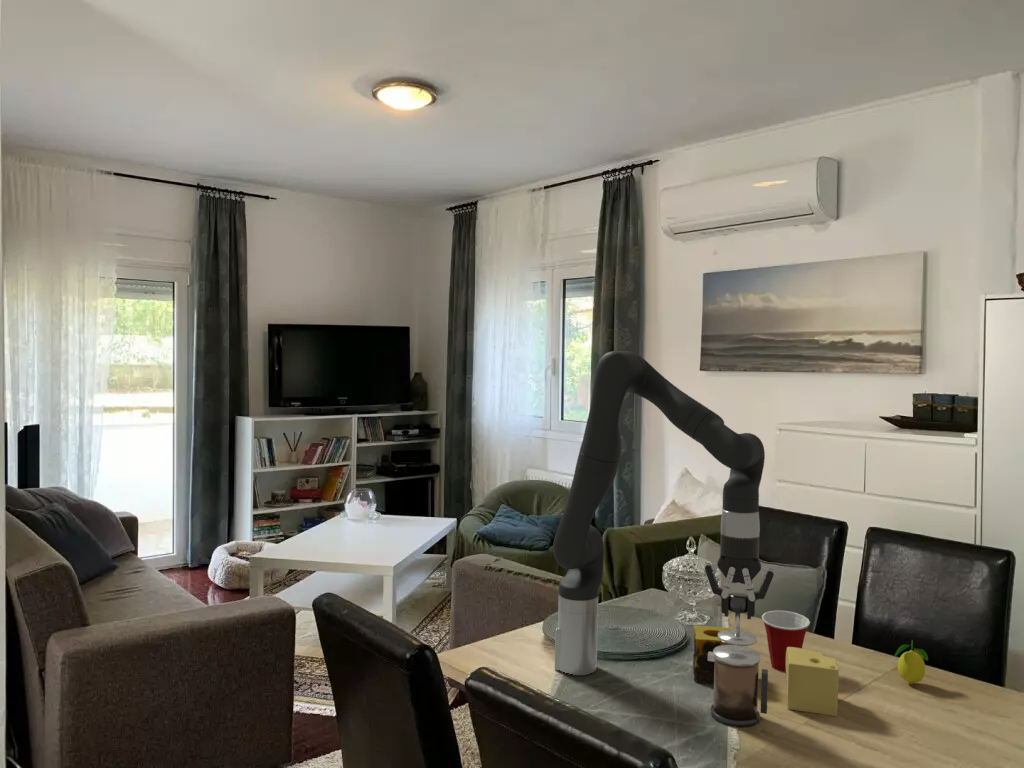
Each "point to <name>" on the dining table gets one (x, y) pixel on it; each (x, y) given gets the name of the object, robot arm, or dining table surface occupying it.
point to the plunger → (737, 622)
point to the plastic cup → (783, 634)
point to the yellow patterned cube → (705, 652)
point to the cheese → (811, 681)
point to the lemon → (911, 664)
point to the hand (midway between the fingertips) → (737, 616)
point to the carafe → (737, 686)
